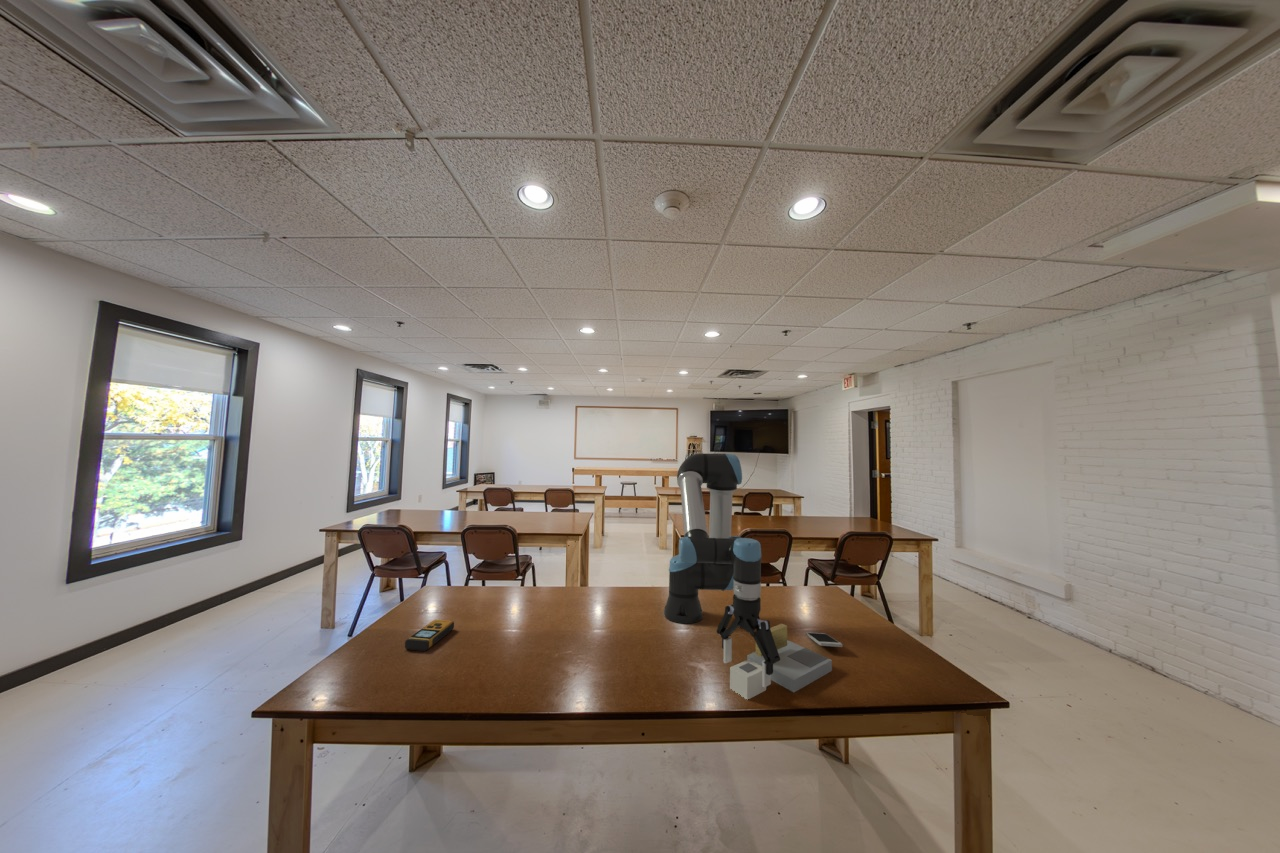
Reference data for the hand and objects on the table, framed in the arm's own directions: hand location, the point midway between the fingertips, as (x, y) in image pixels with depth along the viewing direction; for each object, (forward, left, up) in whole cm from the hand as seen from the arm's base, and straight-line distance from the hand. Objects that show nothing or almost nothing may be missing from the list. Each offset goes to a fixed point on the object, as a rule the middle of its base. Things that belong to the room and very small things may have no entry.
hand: (745, 673), depth 111 cm
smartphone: (+4, +38, -3) cm, 38 cm away
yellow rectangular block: (-3, +16, 0) cm, 16 cm away
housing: (+1, +19, -4) cm, 19 cm away
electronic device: (-83, -64, -5) cm, 104 cm away
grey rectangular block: (+1, 0, -4) cm, 4 cm away
